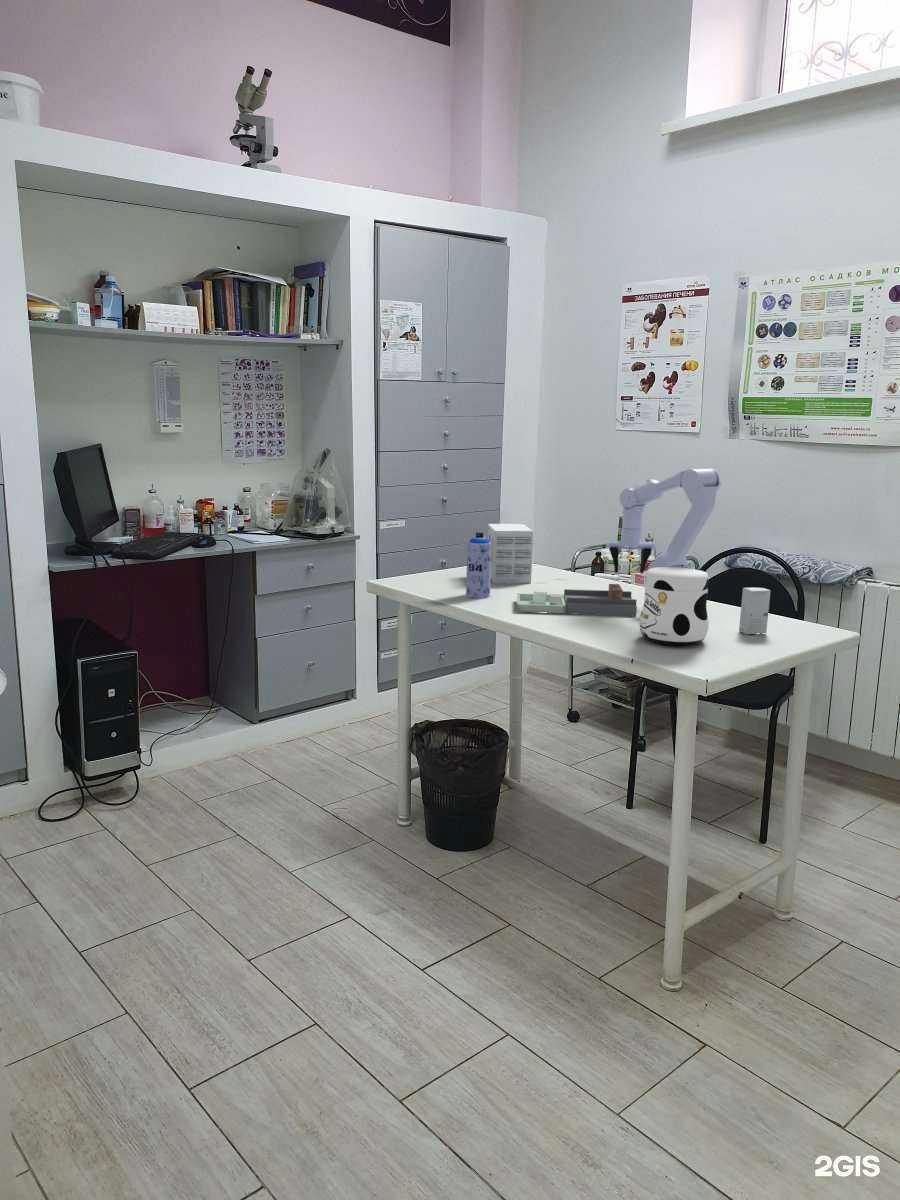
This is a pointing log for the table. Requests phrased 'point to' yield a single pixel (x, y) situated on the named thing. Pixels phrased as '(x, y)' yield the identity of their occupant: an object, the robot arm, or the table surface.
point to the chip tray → (527, 604)
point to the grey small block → (540, 598)
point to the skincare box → (754, 610)
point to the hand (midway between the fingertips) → (628, 572)
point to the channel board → (599, 603)
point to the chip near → (554, 599)
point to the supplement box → (510, 553)
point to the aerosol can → (478, 567)
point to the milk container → (675, 606)
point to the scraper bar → (615, 591)
